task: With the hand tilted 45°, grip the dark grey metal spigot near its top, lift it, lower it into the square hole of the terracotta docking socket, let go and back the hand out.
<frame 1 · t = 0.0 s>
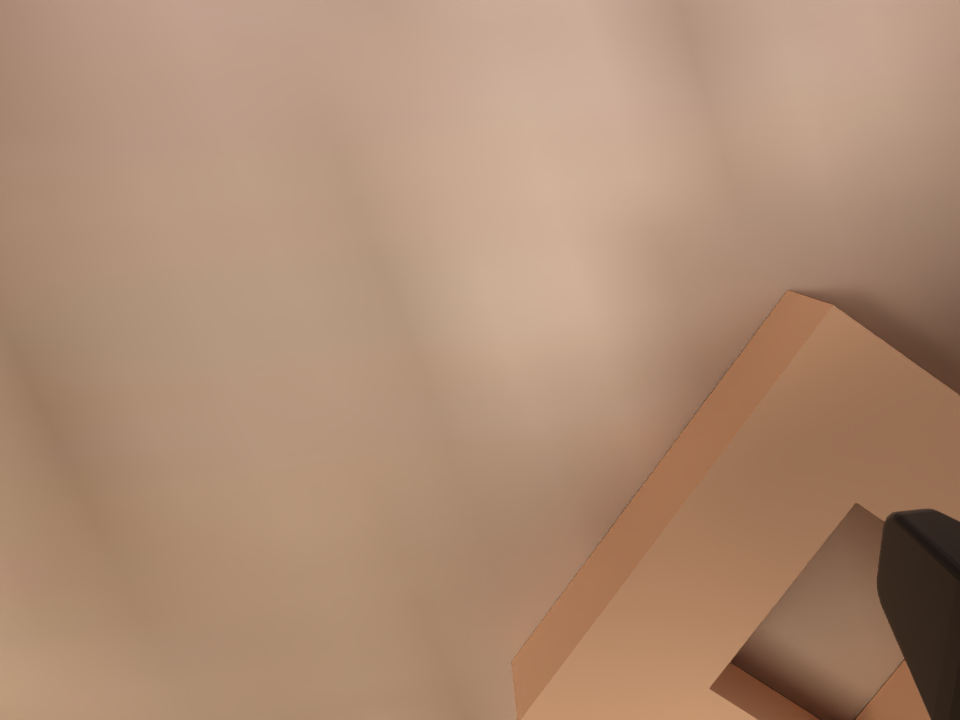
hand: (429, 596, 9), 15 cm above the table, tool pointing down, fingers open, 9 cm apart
docking socket: (826, 603, 26), on the table
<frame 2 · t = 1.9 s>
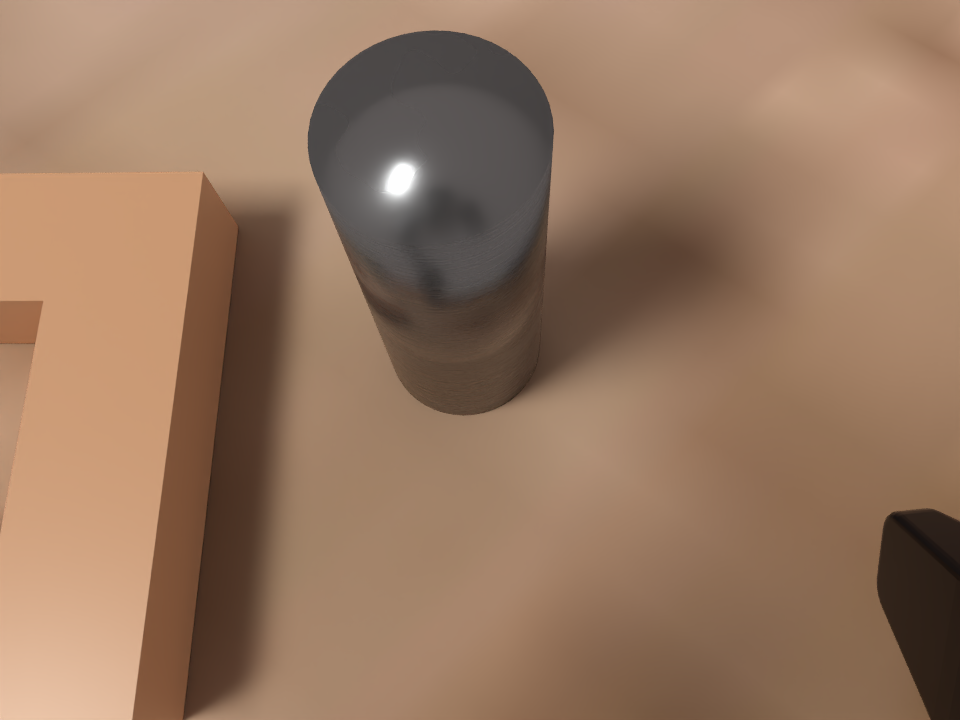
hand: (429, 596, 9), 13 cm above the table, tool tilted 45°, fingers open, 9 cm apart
spigot: (464, 343, 24), on the table
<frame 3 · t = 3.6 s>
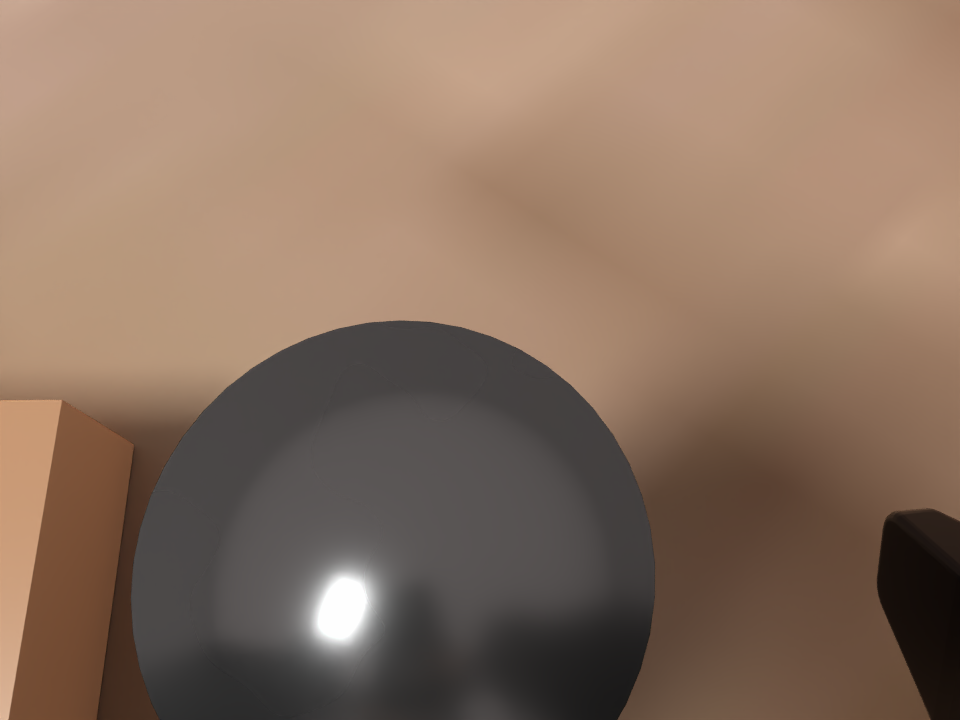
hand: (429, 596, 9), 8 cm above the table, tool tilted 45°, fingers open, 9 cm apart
spigot: (461, 630, 16), on the table
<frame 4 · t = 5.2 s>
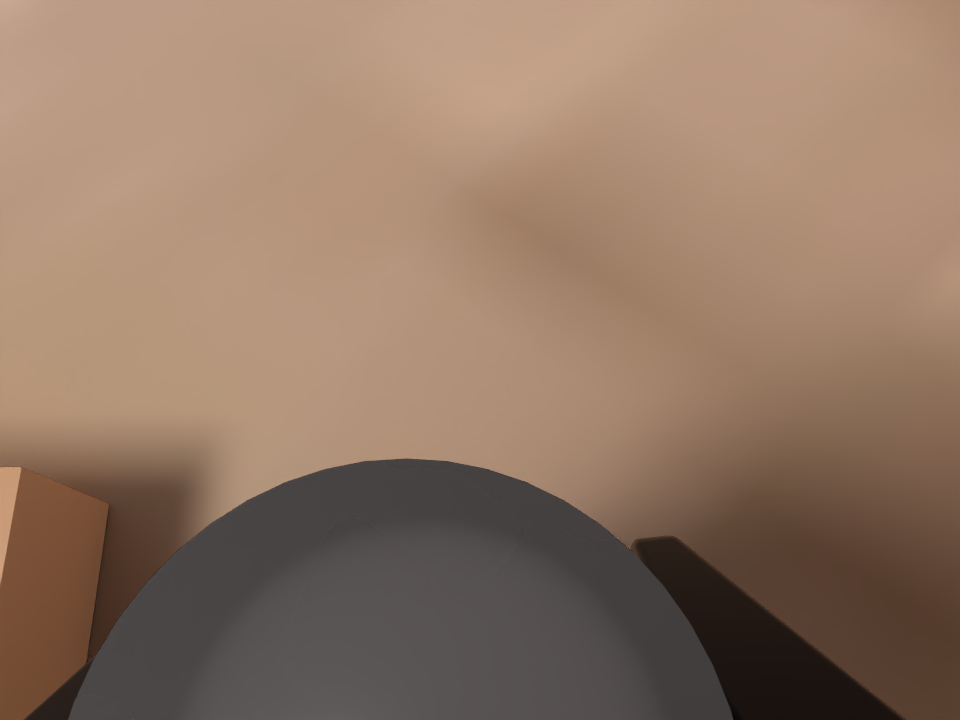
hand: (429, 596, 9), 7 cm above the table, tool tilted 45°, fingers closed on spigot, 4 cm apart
spigot: (473, 718, 14), on the table, touching gripper
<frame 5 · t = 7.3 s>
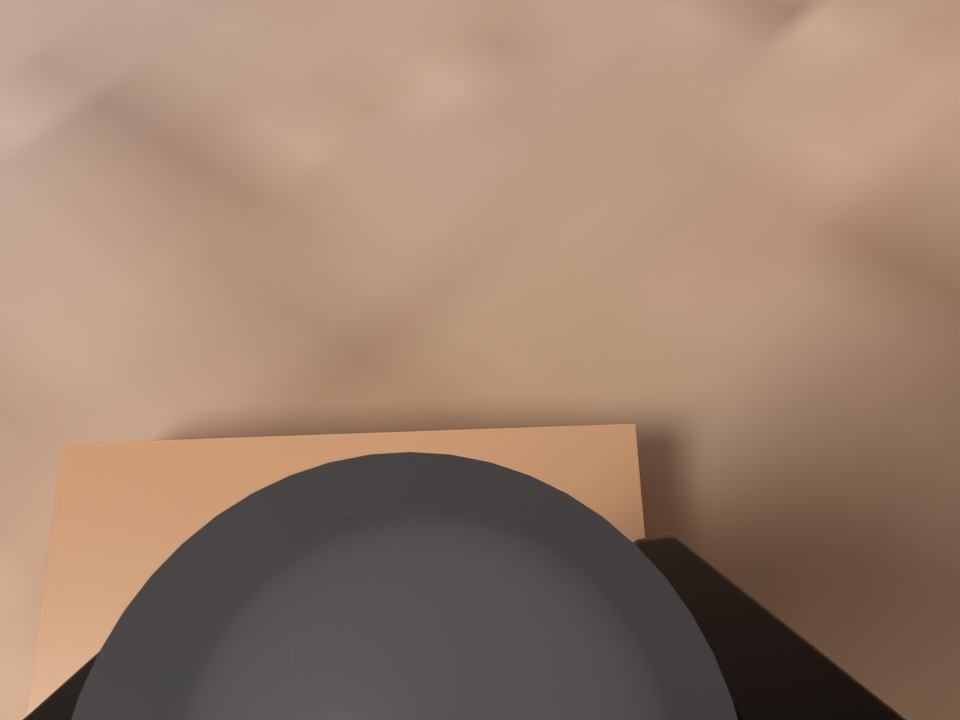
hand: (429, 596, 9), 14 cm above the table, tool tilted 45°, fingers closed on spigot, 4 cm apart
spigot: (474, 716, 15), point 7 cm above the table, touching gripper
when the fingers open (8 cm above the table, at t = 9.6 s): spigot drops 1 cm, resting in docking socket.
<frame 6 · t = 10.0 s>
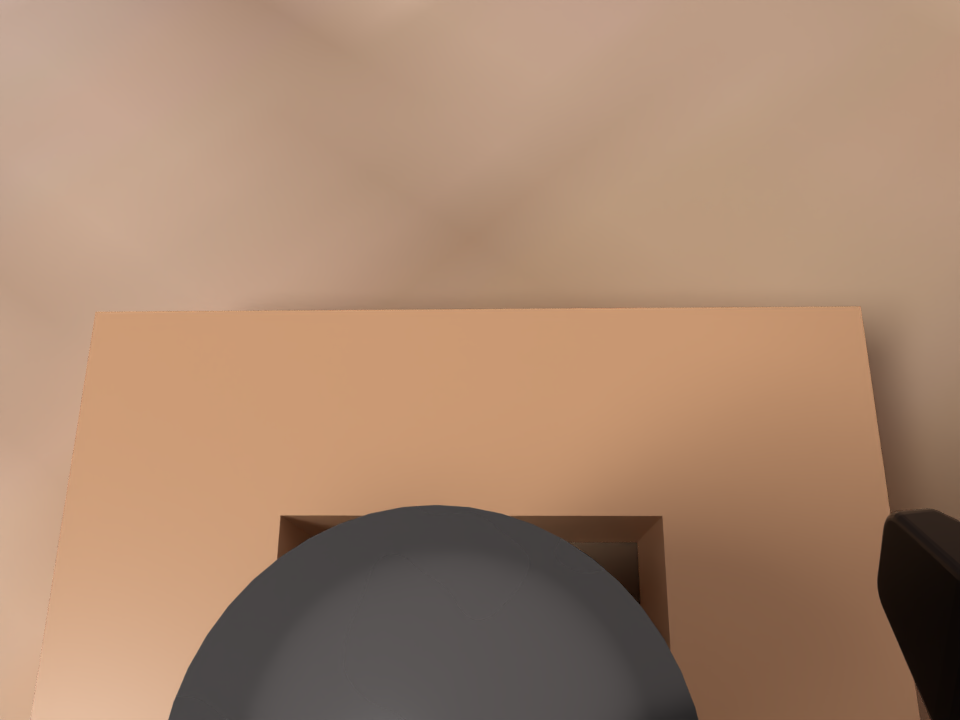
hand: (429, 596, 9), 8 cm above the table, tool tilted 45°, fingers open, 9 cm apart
docking socket: (476, 712, 16), on the table
spigot: (480, 716, 16), resting in docking socket
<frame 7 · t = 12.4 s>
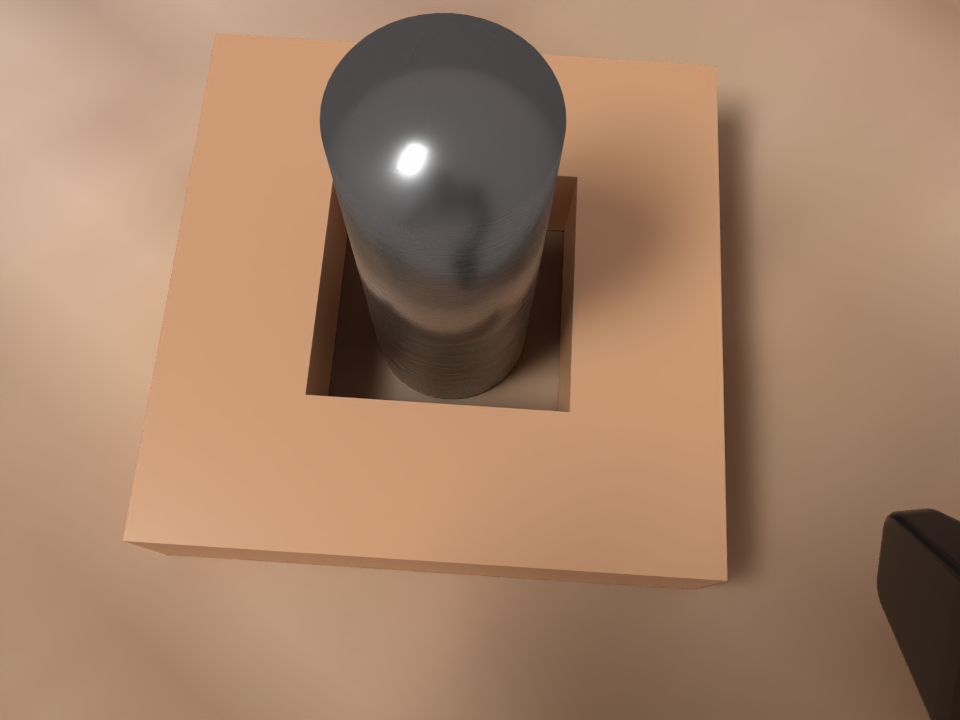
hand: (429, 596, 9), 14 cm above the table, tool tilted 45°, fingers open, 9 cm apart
docking socket: (449, 324, 24), on the table
spigot: (451, 327, 24), resting in docking socket
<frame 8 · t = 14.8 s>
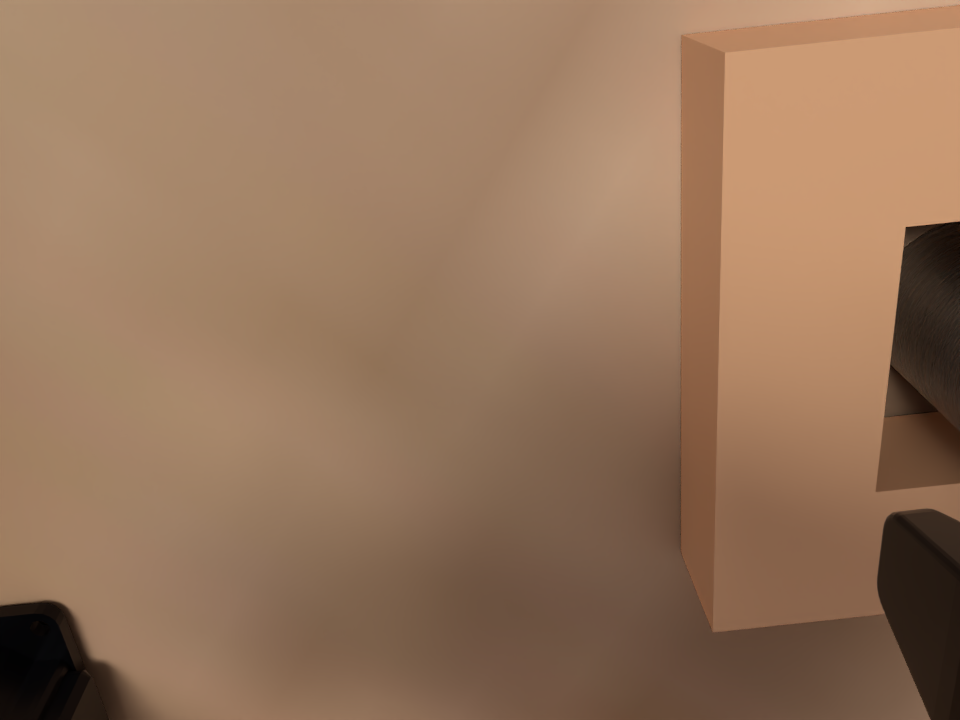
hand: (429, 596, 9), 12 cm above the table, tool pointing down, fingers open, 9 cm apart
docking socket: (958, 299, 21), on the table
spigot: (954, 302, 21), resting in docking socket
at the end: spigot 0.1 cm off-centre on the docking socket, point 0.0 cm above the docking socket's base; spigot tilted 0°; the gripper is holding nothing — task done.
